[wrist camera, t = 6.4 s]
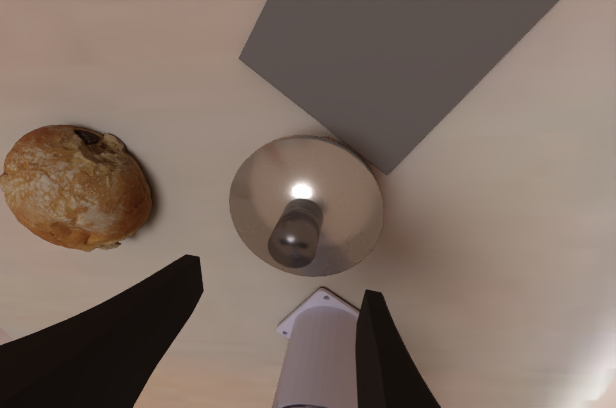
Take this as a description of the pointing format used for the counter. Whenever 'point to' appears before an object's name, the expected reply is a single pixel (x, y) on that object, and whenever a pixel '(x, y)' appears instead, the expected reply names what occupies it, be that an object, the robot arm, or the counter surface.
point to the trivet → (384, 62)
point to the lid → (307, 206)
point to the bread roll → (75, 187)
